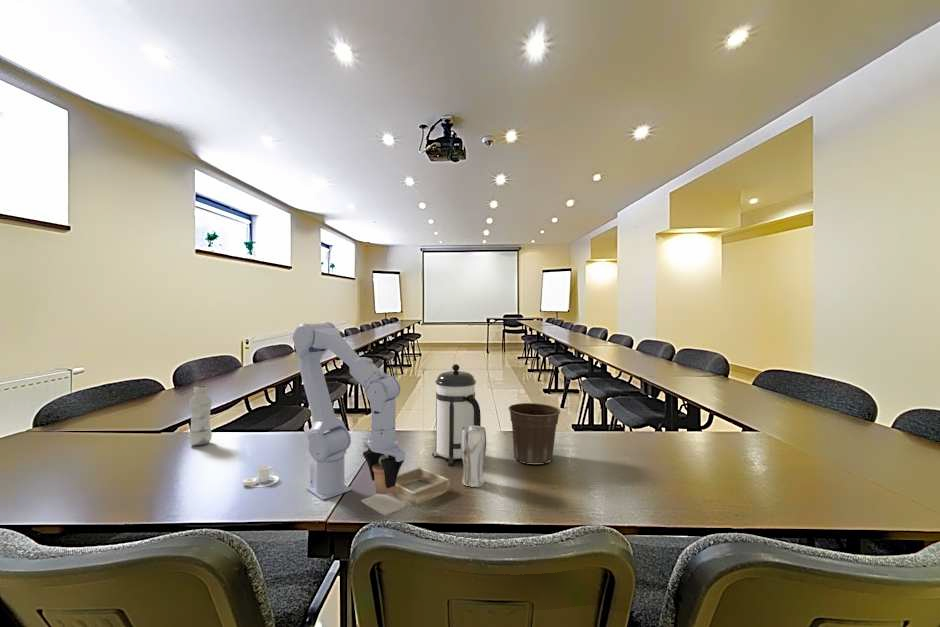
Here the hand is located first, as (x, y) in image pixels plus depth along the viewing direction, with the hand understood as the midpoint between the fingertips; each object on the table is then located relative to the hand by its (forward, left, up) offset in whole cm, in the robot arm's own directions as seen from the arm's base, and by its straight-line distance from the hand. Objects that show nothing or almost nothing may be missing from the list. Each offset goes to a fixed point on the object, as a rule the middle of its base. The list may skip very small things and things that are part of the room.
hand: (383, 482), depth 102 cm
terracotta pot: (0, +1, -2) cm, 2 cm away
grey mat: (0, 0, -5) cm, 5 cm away
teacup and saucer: (-37, -17, -6) cm, 41 cm away
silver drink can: (+7, +24, -6) cm, 26 cm away
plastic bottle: (-81, -20, -6) cm, 83 cm away
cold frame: (0, +10, -5) cm, 12 cm away
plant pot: (+8, +51, -6) cm, 52 cm away
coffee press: (-9, +34, -6) cm, 36 cm away
